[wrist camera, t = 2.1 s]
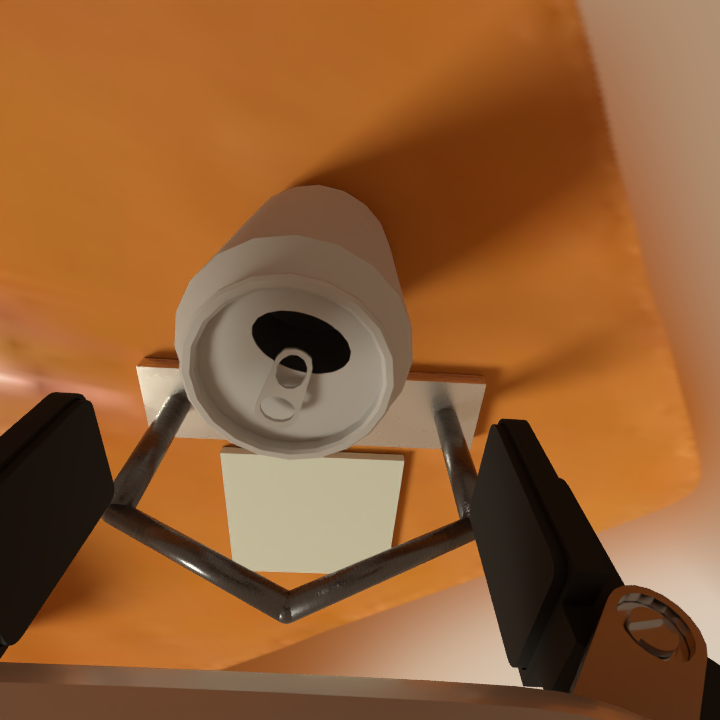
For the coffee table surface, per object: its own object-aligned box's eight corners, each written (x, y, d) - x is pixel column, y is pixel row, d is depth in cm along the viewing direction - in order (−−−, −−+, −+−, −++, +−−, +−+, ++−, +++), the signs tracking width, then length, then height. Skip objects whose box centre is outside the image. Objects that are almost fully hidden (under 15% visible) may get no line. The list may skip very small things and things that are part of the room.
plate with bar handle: (143, 357, 26) (-35, 567, 14) (482, 375, 26) (584, 586, 15) (157, 425, 28) (15, 653, 16) (466, 440, 29) (543, 665, 17)
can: (414, 218, 22) (469, 316, 11) (357, 342, 25) (359, 505, 15) (269, 155, 20) (182, 201, 10) (229, 295, 24) (132, 440, 13)
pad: (222, 446, 29) (220, 453, 28) (403, 454, 30) (404, 461, 29) (235, 563, 35) (233, 570, 34) (386, 568, 35) (386, 575, 35)
